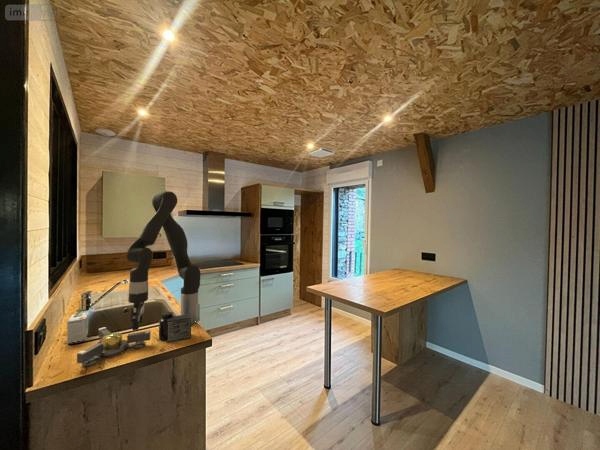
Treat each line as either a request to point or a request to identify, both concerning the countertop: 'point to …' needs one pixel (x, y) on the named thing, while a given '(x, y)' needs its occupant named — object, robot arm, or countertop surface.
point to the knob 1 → (89, 353)
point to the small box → (179, 328)
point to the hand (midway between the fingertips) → (137, 326)
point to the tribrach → (112, 348)
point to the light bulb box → (77, 327)
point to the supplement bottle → (164, 325)
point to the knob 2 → (138, 337)
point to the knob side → (103, 332)
